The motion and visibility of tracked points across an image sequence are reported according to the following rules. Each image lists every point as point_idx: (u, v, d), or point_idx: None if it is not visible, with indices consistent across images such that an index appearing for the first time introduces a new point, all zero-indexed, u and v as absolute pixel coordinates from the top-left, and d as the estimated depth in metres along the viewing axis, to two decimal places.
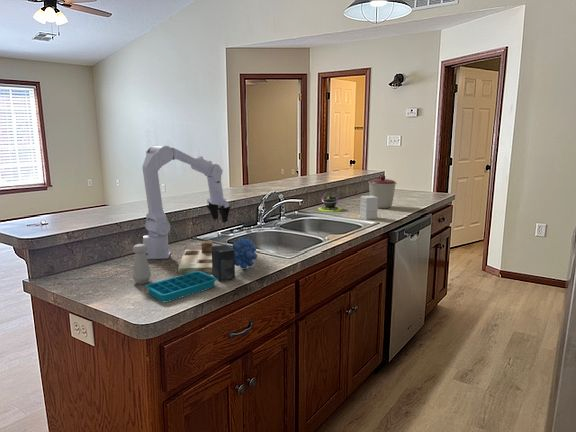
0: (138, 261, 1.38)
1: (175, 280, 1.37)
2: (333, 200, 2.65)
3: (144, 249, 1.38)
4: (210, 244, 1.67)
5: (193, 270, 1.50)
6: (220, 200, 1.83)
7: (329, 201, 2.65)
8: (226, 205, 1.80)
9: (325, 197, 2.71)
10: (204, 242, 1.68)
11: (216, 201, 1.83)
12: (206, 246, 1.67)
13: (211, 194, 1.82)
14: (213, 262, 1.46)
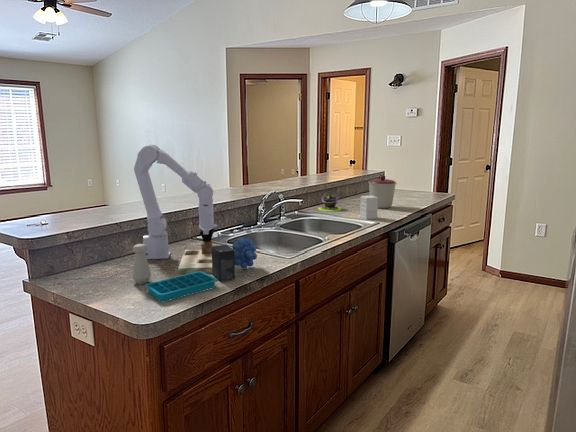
0: (138, 261, 1.38)
1: (176, 280, 1.38)
2: (333, 200, 2.66)
3: (144, 249, 1.38)
4: (210, 245, 1.66)
5: (193, 270, 1.50)
6: (205, 225, 1.67)
7: (329, 201, 2.66)
8: (204, 232, 1.63)
9: (325, 197, 2.71)
10: (204, 243, 1.67)
11: (201, 225, 1.68)
12: (206, 247, 1.66)
13: (199, 217, 1.69)
14: (213, 262, 1.46)
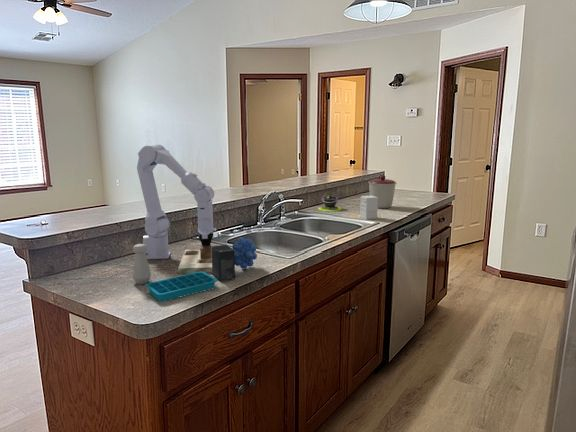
0: (138, 261, 1.38)
1: (176, 280, 1.38)
2: (333, 200, 2.66)
3: (144, 249, 1.38)
4: (210, 250, 1.60)
5: (193, 270, 1.50)
6: (204, 229, 1.61)
7: (329, 201, 2.66)
8: (203, 236, 1.57)
9: (325, 197, 2.72)
10: (203, 247, 1.61)
11: (200, 229, 1.61)
12: (205, 251, 1.60)
13: (198, 220, 1.62)
14: (213, 262, 1.46)
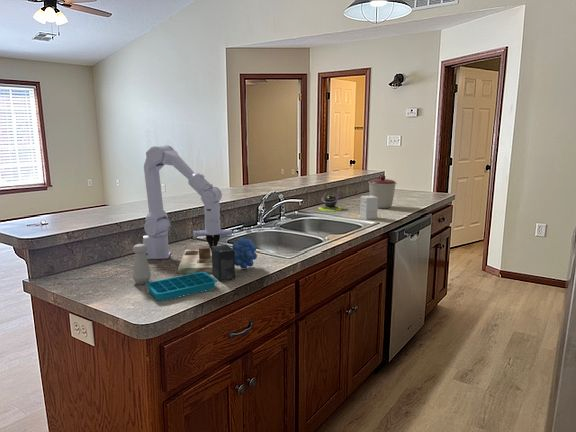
0: (138, 261, 1.38)
1: (177, 279, 1.38)
2: (333, 199, 2.67)
3: (144, 249, 1.38)
4: (208, 249, 1.60)
5: (193, 270, 1.50)
6: (205, 229, 1.61)
7: (329, 200, 2.67)
8: None
9: (325, 197, 2.73)
10: (202, 247, 1.61)
11: None
12: (203, 251, 1.60)
13: None
14: (213, 262, 1.46)
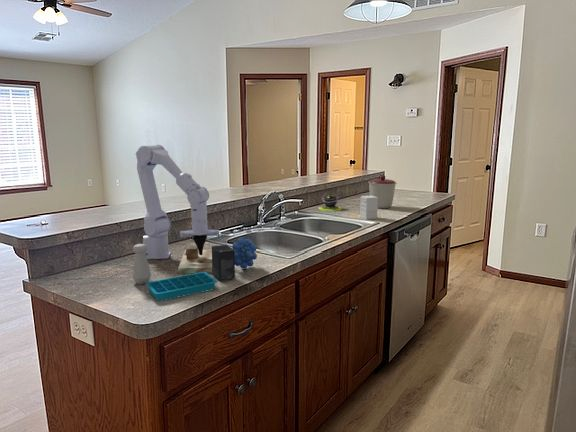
0: (138, 261, 1.38)
1: (177, 279, 1.38)
2: (333, 199, 2.67)
3: (144, 249, 1.38)
4: (195, 250, 1.59)
5: (193, 270, 1.50)
6: None
7: (329, 200, 2.67)
8: None
9: (325, 196, 2.73)
10: (189, 248, 1.60)
11: None
12: (191, 252, 1.59)
13: None
14: (213, 262, 1.46)
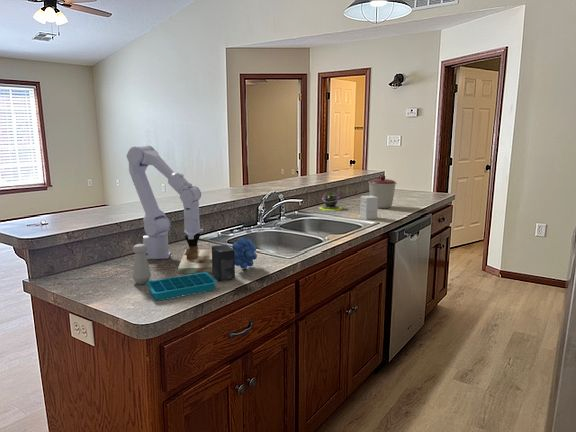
0: (138, 261, 1.38)
1: (178, 279, 1.38)
2: (334, 199, 2.68)
3: (144, 249, 1.38)
4: (196, 250, 1.59)
5: (193, 270, 1.50)
6: (191, 230, 1.60)
7: (330, 200, 2.68)
8: (189, 237, 1.56)
9: (326, 196, 2.74)
10: (189, 248, 1.60)
11: (186, 230, 1.61)
12: (191, 252, 1.59)
13: (184, 221, 1.61)
14: (213, 262, 1.46)
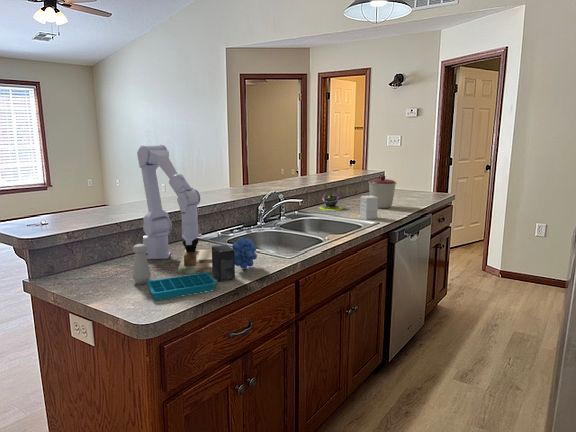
0: (138, 261, 1.38)
1: (179, 279, 1.38)
2: (334, 199, 2.68)
3: (144, 249, 1.38)
4: (194, 256, 1.52)
5: (193, 270, 1.50)
6: (189, 235, 1.52)
7: (330, 200, 2.68)
8: (187, 242, 1.48)
9: (326, 196, 2.74)
10: (187, 254, 1.52)
11: (184, 235, 1.53)
12: (189, 258, 1.52)
13: (182, 225, 1.54)
14: (213, 262, 1.46)
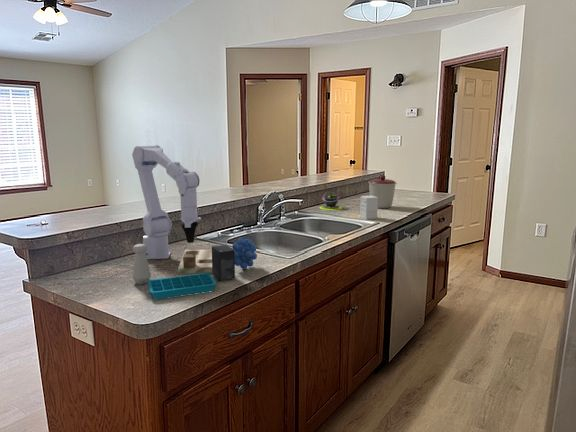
0: (138, 261, 1.38)
1: (179, 279, 1.38)
2: (334, 199, 2.69)
3: (144, 249, 1.38)
4: (193, 258, 1.49)
5: (193, 270, 1.50)
6: (188, 218, 1.51)
7: (330, 200, 2.69)
8: (186, 225, 1.47)
9: (326, 196, 2.75)
10: (186, 256, 1.50)
11: (183, 218, 1.51)
12: (188, 260, 1.49)
13: (181, 208, 1.52)
14: (213, 262, 1.46)
